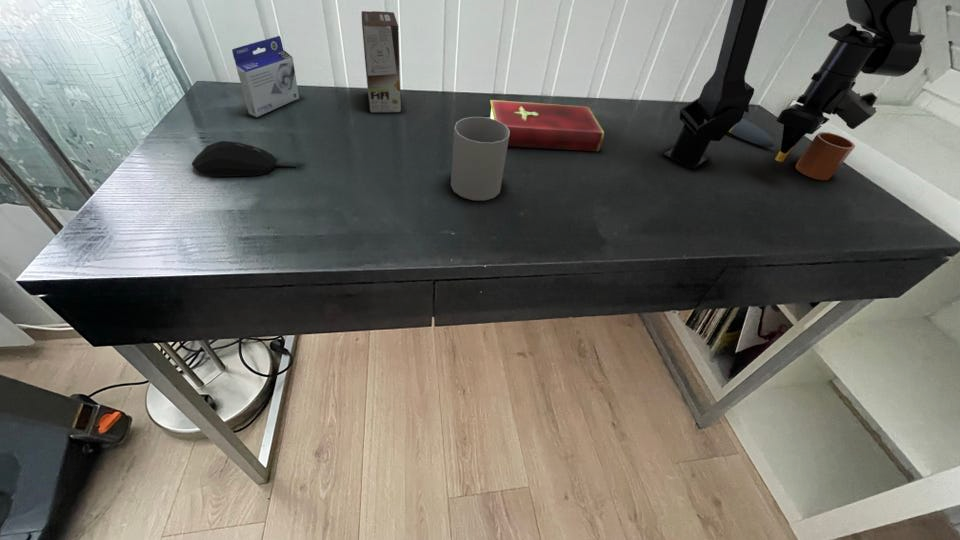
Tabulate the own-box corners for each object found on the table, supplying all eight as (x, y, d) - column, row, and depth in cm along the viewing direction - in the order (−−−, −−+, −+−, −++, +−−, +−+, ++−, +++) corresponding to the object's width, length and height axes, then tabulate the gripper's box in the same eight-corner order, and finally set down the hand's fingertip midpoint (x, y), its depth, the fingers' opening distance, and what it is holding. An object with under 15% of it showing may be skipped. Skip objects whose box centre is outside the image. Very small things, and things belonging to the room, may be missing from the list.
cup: (506, 180, 72) (516, 125, 65) (492, 205, 66) (501, 148, 59) (461, 167, 73) (465, 112, 66) (443, 191, 68) (445, 133, 61)
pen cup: (825, 183, 83) (850, 152, 78) (790, 169, 86) (813, 137, 81) (833, 173, 87) (858, 142, 82) (800, 159, 90) (822, 129, 85)
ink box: (257, 118, 78) (239, 52, 70) (248, 115, 79) (228, 49, 71) (301, 98, 86) (289, 37, 78) (292, 95, 87) (279, 34, 79)
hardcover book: (598, 152, 83) (605, 132, 80) (494, 146, 80) (496, 125, 77) (583, 124, 91) (588, 105, 88) (488, 118, 89) (490, 98, 86)
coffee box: (401, 112, 86) (399, 25, 75) (370, 113, 85) (362, 24, 73) (397, 94, 92) (394, 11, 81) (367, 94, 91) (360, 9, 80)
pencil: (781, 162, 85) (803, 130, 80) (773, 159, 86) (795, 127, 81) (784, 160, 86) (806, 128, 81) (776, 157, 87) (797, 125, 82)
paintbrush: (775, 145, 94) (789, 124, 90) (769, 152, 91) (783, 130, 87) (690, 113, 102) (700, 92, 99) (683, 119, 99) (692, 98, 96)
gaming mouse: (293, 177, 66) (288, 154, 63) (189, 177, 63) (178, 154, 61) (298, 157, 71) (294, 134, 68) (201, 156, 68) (192, 133, 65)
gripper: (880, 98, 65) (813, 184, 76) (901, 77, 75) (840, 155, 86) (804, 73, 70) (752, 157, 81) (834, 56, 80) (784, 133, 91)
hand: (784, 151), depth 84 cm, fingers closed on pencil, 1 cm apart
